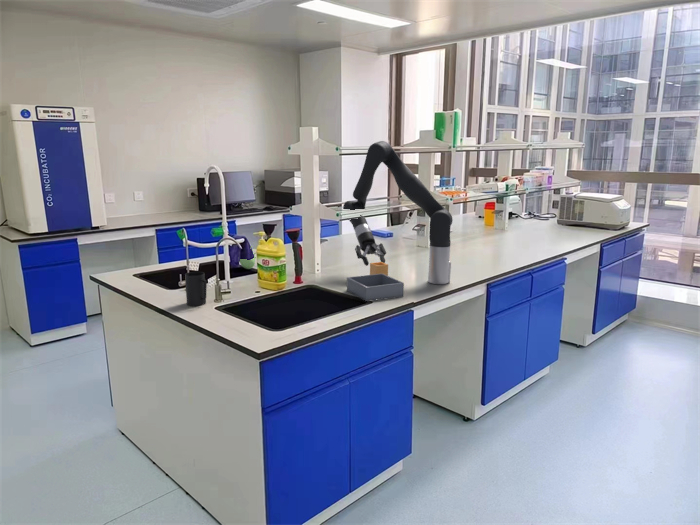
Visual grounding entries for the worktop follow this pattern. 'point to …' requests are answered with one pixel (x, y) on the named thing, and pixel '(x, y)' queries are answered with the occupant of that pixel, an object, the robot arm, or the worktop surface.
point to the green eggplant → (248, 262)
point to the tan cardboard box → (378, 268)
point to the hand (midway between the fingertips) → (375, 264)
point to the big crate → (375, 287)
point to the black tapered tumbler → (195, 288)
